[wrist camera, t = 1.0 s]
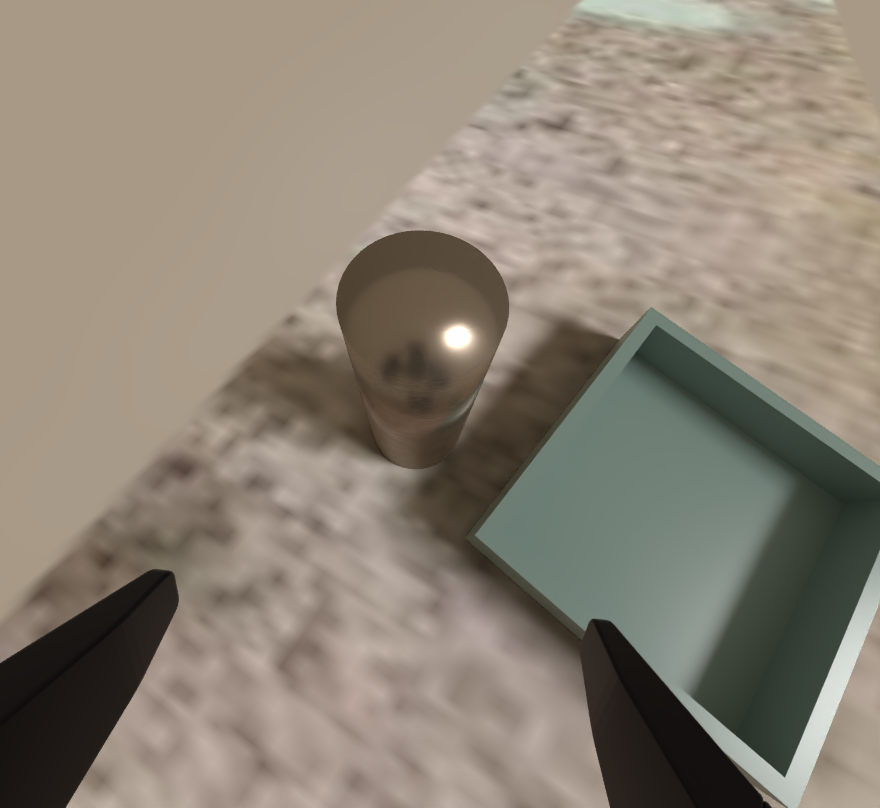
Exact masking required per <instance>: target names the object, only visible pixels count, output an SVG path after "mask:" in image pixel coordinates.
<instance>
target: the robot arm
mask: <svg viewBox="0 0 880 808" xmlns="http://www.w3.org/2000/svg"><path fill="white" fill-rule="evenodd" d="M178 602H179V595H178V590H177V585H176V580H175V575H174V573H173V572H172V571H169V570H160V569H153V570H150V571H148V572H146V573H144V574H143V575H141V576H140V577H138V578H136V579H135V580H133V581H131V582H130V583H128V584H127V585H125V586H123V587H122V588H120V589H119V590H117V591H115V592H114V593H112V594H111V595H109V596H107V597H106V598H104V599H102V600H101V601H99V602H98V603H96V604H94V605H93V606H91V607H90V608H88V609H86V610H85V611H83V612H82V613H80V614H78V615H77V616H75V617H74V618H72V619H70V620H69V621H67V622H65V623H64V624H62V625H61V626H59V627H57V628H56V629H54V630H53V631H51V632H49V633H48V634H46V635H45V636H43V637H41V638H40V639H38V640H36V641H35V642H33V643H32V644H30V645H28V646H27V647H25V648H24V649H22V650H20V651H19V652H17V653H16V654H14V655H12V656H11V657H9V658H8V659H6V660H4V661H3V662H1V663H0V808H66V806H67V805H68V803H69V801H70V800H71V798H72V796H73V795H74V793H75V791H76V790H77V788H78V786H79V785H80V783H81V781H82V780H83V778H84V776H85V775H86V773H87V771H88V770H89V768H90V767H91V765H92V763H93V762H94V760H95V758H96V757H97V755H98V753H99V752H100V750H101V748H102V747H103V745H104V743H105V742H106V740H107V738H108V737H109V735H110V733H111V732H112V730H113V728H114V727H115V725H116V723H117V722H118V720H119V718H120V717H121V715H122V714H123V712H124V710H125V709H126V707H127V705H128V704H129V702H130V700H131V699H132V697H133V695H134V693H135V692H136V690H137V688H138V686H139V685H140V683H141V681H142V679H143V677H144V675H145V673H146V671H147V669H148V667H149V665H150V663H151V661H152V659H153V657H154V655H155V653H156V650H157V648H158V646H159V644H160V642H161V640H162V638H163V636H164V634H165V632H166V630H167V628H168V626H169V624H170V622H171V620H172V618H173V615H174V613H175V611H176V609H177V606H178ZM580 655H581V662H582V669H583V676H584V683H585V689H586V696H587V703H588V710H589V717H590V723H591V729H592V734H593V739H594V743H595V748H596V752H597V756H598V760H599V764H600V768H601V772H602V776H603V781H604V785H605V789H606V793H607V797H608V801H609V805H610V808H772V807H771V806H770V805H769V804H768V803H767V802H766V801H763V797H762V796H761V794H760V793H759V792H758V791H757V790H756V789H755V788H754V786H753V785H752V784H751V783H750V782H749V781H748V779H747V778H746V777H745V776H744V775H743V774H742V772H741V771H740V770H739V769H738V768H737V767H736V765H735V764H734V763H733V762H732V761H731V760H730V758H729V757H728V756H727V755H726V754H725V753H724V751H723V750H722V749H721V748H720V747H719V746H718V744H717V743H716V742H715V741H714V740H713V739H712V738H711V736H710V735H709V734H708V733H707V732H706V731H705V729H704V728H703V727H702V726H701V725H700V724H699V722H698V721H697V720H696V719H695V718H694V717H693V715H692V714H691V713H690V712H689V711H688V710H687V708H686V707H685V706H684V705H683V704H682V703H681V701H680V700H679V699H678V698H677V697H676V696H675V695H674V693H673V692H672V691H671V690H670V689H669V688H668V686H667V685H666V684H665V683H664V682H663V681H662V679H661V678H660V677H659V676H658V675H657V674H656V672H655V671H654V670H653V669H652V668H651V667H650V665H649V664H648V663H647V662H646V661H645V660H644V658H643V657H642V656H641V655H640V654H639V653H638V651H637V650H636V649H635V648H634V647H633V646H632V645H631V643H630V642H629V641H628V640H627V639H626V638H625V636H624V635H623V634H622V633H621V632H620V631H619V629H618V628H617V627H616V626H615V625H614V624H613V623H612V622H611V621H609V620H604V619H595V618H594V619H591V620H590V621H589V623H588V626H587V628H586V631H585V633H584V636H583V638H582V641H581V645H580Z"/></svg>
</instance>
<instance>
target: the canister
mask: <svg viewBox="0 0 880 808" xmlns="http://www.w3.org/2000/svg"><path fill="white" fill-rule="evenodd" d="M336 308H337V316H338V320H339V324H340V327H341V331H342V334H343V337H344V340H345V344H346V347H347V350H348V354H349V357H350V360H351V363H352V367H353V370H354V373H355V376H356V380H357V383H358V386H359V390H360V393H361V396H362V399H363V403H364V406H365V409H366V413H367V416H368V419H369V422H370V426H371V429H372V432H373V436H374V439H375V442H376V444H377V446H378V448H379V450H380V451H381V452H382V454H383V455H384V456H385V457H386V458H387V459H389V460H390V461H391V462H393V463H394V464H396V465H398V466H401V467H404V468H408V469H424V468H428V467H432V466H434V465H436V464H438V463H440V462H441V461H443V460H444V459H445V458H446V457H447V456H448V455H449V454H450V453H451V452H452V450H453V449H454V447H455V445H456V443H457V441H458V438H459V436H460V434H461V431H462V429H463V427H464V425H465V422H466V420H467V418H468V415H469V413H470V411H471V408H472V406H473V404H474V401H475V399H476V397H477V394H478V392H479V390H480V387H481V385H482V383H483V380H484V378H485V376H486V373H487V371H488V369H489V366H490V364H491V362H492V360H493V357H494V355H495V353H496V350H497V348H498V346H499V343H500V341H501V339H502V336H503V334H504V331H505V329H506V326H507V321H508V317H509V300H508V294H507V290H506V286H505V284H504V281H503V279H502V277H501V275H500V273H499V272H498V270H497V269H496V267H495V266H494V265H493V263H492V262H491V261H490V260H489V259H488V258H487V257H486V256H485V255H484V254H483V253H482V252H481V251H479V250H478V249H477V248H475V247H474V246H472V245H471V244H469V243H467V242H465V241H463V240H461V239H459V238H456V237H454V236H451V235H448V234H444V233H440V232H433V231H406V232H401V233H396V234H393V235H389V236H386V237H384V238H382V239H379V240H377V241H375V242H374V243H372V244H370V245H369V246H367V247H366V248H365V249H363V250H362V251H361V252H360V253H359V254H358V255H357V256H356V257H355V258H354V259H353V260H352V261H351V262H350V264H349V265H348V266H347V268H346V270H345V272H344V273H343V275H342V278H341V280H340V283H339V286H338V291H337V298H336Z"/></svg>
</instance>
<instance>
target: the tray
mask: <svg viewBox="0 0 880 808" xmlns="http://www.w3.org/2000/svg"><path fill="white" fill-rule="evenodd" d="M465 539H466V540H467V541H468V542H470V543H471V544H472V545H473V546H474V547H475V548H476V549H478V550H479V551H480V552H481V553H482V554H483V555H484V556H486V557H487V558H488V559H489V560H490V561H491V562H492V563H494V564H495V565H496V566H497V567H498V568H499V569H500V570H502V571H503V572H504V573H505V574H506V575H507V576H508V577H510V578H511V579H512V580H513V581H514V582H515V583H516V584H518V585H519V586H520V587H521V588H522V589H523V590H524V591H526V592H527V593H528V594H529V595H530V596H531V597H532V598H534V599H535V600H536V601H537V602H538V603H539V604H540V605H542V606H543V607H544V608H545V609H546V610H547V611H548V612H550V613H551V614H552V615H553V616H554V617H555V618H556V619H558V620H559V621H560V622H561V623H562V624H563V625H564V626H566V627H567V628H568V629H569V630H570V631H571V632H572V633H574V634H575V635H576V636H577V637H578V638H579V639H580V640H582V638H583V636H584V633H585V631H586V628H587V626H588V623H589V621H590V620H591V619H594V618H595V619H604V620H609V621H611V622H612V623H613V624H614V625H615V626H616V627H617V628H618V629H619V631H620V632H621V633H622V634H623V635H624V636H625V638H626V639H627V640H628V641H629V642H630V643H631V645H632V646H633V647H634V648H635V649H636V650H637V651H638V653H639V654H640V655H641V656H642V657H643V658H644V660H645V661H646V662H647V663H648V664H649V665H650V667H651V668H652V669H653V670H654V671H655V672H656V674H657V675H658V676H659V677H660V678H661V679H662V681H663V682H664V683H665V684H666V685H667V686H668V688H669V689H670V690H671V691H672V692H673V693H674V695H675V696H676V697H677V698H678V699H679V700H680V701H681V703H682V704H683V705H684V706H685V707H686V708H687V710H688V711H689V712H690V713H691V714H692V715H693V717H694V718H695V719H696V720H697V721H698V722H699V724H700V725H701V726H702V727H703V728H704V729H705V731H706V732H707V733H708V734H709V735H710V736H711V738H712V739H713V740H714V741H715V742H716V743H717V744H718V746H719V747H720V748H721V749H722V750H723V751H724V753H725V754H726V755H727V756H728V757H729V758H730V760H731V761H732V762H733V763H734V764H735V765H736V767H737V768H738V769H739V770H740V771H741V772H742V774H743V775H744V776H745V777H746V778H747V779H748V781H749V782H750V783H751V784H752V785H753V786H755V787H756V788H758V789H759V790H761V791H762V792H764V793H765V794H767V795H768V796H770V797H771V798H773V799H774V800H776V801H777V802H779V803H780V804H782V805H783V806H785V807H786V808H798V805H799V803H800V800H801V798H802V795H803V793H804V790H805V788H806V785H807V783H808V780H809V778H810V775H811V773H812V770H813V768H814V765H815V763H816V760H817V758H818V755H819V753H820V750H821V748H822V745H823V743H824V740H825V738H826V735H827V733H828V730H829V728H830V725H831V723H832V720H833V718H834V715H835V713H836V710H837V708H838V705H839V703H840V700H841V698H842V695H843V693H844V690H845V688H846V685H847V683H848V680H849V678H850V675H851V673H852V670H853V668H854V665H855V663H856V660H857V658H858V655H859V653H860V650H861V648H862V645H863V643H864V640H865V638H866V635H867V633H868V630H869V628H870V625H871V623H872V620H873V618H874V615H875V613H876V610H877V608H878V605H879V603H880V466H879V465H877V464H876V463H875V462H873V461H872V460H870V459H869V458H867V457H866V456H865V455H863V454H862V453H860V452H859V451H857V450H856V449H854V448H853V447H852V446H850V445H849V444H847V443H846V442H844V441H843V440H842V439H840V438H839V437H837V436H836V435H834V434H833V433H831V432H830V431H829V430H827V429H826V428H824V427H823V426H821V425H820V424H819V423H817V422H816V421H814V420H813V419H811V418H810V417H809V416H807V415H806V414H804V413H803V412H801V411H800V410H798V409H797V408H796V407H794V406H793V405H791V404H790V403H788V402H787V401H786V400H784V399H783V398H781V397H780V396H778V395H777V394H775V393H774V392H773V391H771V390H770V389H768V388H767V387H765V386H764V385H763V384H761V383H760V382H758V381H757V380H755V379H754V378H752V377H751V376H750V375H748V374H747V373H745V372H744V371H742V370H741V369H740V368H738V367H737V366H735V365H734V364H732V363H731V362H729V361H728V360H727V359H725V358H724V357H722V356H721V355H719V354H718V353H717V352H715V351H714V350H712V349H711V348H709V347H708V346H707V345H705V344H704V343H702V342H701V341H699V340H698V339H696V338H695V337H694V336H692V335H691V334H689V333H688V332H686V331H685V330H684V329H682V328H681V327H679V326H678V325H676V324H675V323H673V322H672V321H671V320H669V319H668V318H666V317H665V316H663V315H662V314H661V313H659V312H658V311H656V310H655V309H653V308H652V307H651V308H650V309H649V310H648V311H647V312H646V313H645V314H644V315H643V316H642V317H641V318H640V319H639V320H638V321H637V322H636V323H635V324H634V325H633V326H632V327H631V328H630V329H629V330H628V331H627V332H626V333H625V334H624V335H623V336H622V337H621V338H620V339H619V341H618V342H617V343H616V345H615V346H614V347H613V348H612V350H611V351H610V352H609V353H608V355H607V356H606V357H605V359H604V360H603V361H602V362H601V364H600V365H599V366H598V368H597V369H596V370H595V371H594V373H593V374H592V375H591V377H590V378H589V379H588V380H587V382H586V383H585V384H584V386H583V387H582V388H581V389H580V391H579V392H578V393H577V394H576V396H575V397H574V398H573V400H572V401H571V402H570V403H569V405H568V406H567V407H566V409H565V410H564V411H563V412H562V414H561V415H560V416H559V418H558V419H557V420H556V421H555V423H554V424H553V425H552V426H551V428H550V429H549V430H548V432H547V433H546V434H545V435H544V437H543V438H542V439H541V441H540V442H539V443H538V444H537V446H536V447H535V448H534V450H533V451H532V452H531V453H530V455H529V456H528V457H527V459H526V460H525V461H524V462H523V464H522V465H521V466H520V467H519V469H518V470H517V471H516V473H515V474H514V475H513V476H512V478H511V479H510V480H509V482H508V483H507V484H506V485H505V487H504V488H503V489H502V491H501V492H500V493H499V494H498V496H497V497H496V498H495V499H494V501H493V502H492V503H491V505H490V506H489V507H488V508H487V510H486V511H485V512H484V514H483V515H482V516H481V517H480V519H479V520H478V521H477V523H476V524H475V525H474V526H473V528H472V529H471V530H470V531H469V533H468V534H467V535H466V537H465Z"/></svg>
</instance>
